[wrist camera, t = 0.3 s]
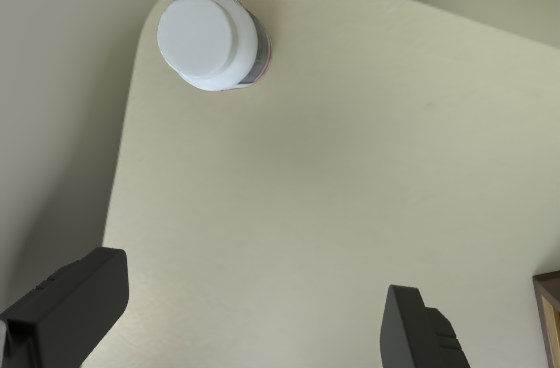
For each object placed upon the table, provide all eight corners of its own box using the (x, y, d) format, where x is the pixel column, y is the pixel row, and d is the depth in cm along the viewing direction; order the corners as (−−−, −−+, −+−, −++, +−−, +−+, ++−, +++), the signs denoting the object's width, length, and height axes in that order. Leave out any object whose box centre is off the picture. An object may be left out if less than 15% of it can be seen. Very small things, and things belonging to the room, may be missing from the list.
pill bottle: (253, -2, 27) (216, -43, 18) (285, 68, 28) (265, 64, 19) (190, 33, 29) (123, 11, 19) (222, 100, 30) (174, 109, 20)
